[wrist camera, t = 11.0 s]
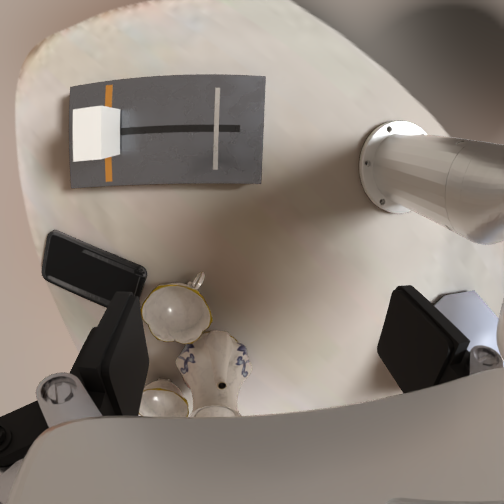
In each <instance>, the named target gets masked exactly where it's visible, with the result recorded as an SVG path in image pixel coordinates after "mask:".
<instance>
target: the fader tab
mask: <svg viewBox="0 0 504 504" xmlns="http://www.w3.org/2000/svg"><path fill="white" fill-rule="evenodd" d="M119 154H120V109H116V108H111V107H106V106H94V107H87V108H80V109H73V162H76V161H87V160H98V159H104V158H108V157H112V156H116V155H119Z"/></svg>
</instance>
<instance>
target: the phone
mask: <svg viewBox="0 0 504 504" xmlns="http://www.w3.org/2000/svg"><path fill="white" fill-rule="evenodd" d="M42 276H43V278H44V279H45V280H46V281H48V282H50V283H53V284H55V285H57V286H59V287H61V288H63V289H65V290H68V291H70V292H72V293H74V294H76V295H79V296H81V297H83V298H85V299H88V300H90V301H92V302H95V303H97V304H99V305H102V306H104V307H107V308H108V306H109V304H110V302H111V300H112V298H113V296H114V295H115V293H116V292H132V293H133V295H134V296H138V298H139V297H140V294H141V291H142V288H143V285H144V282H145V280H146V277H147V271H146V269H145V268H144V267H143V266H141V265H138V264H136V263H133V262H131V261H128V260H126V259H124V258H121V257H119V256H117V255H115V254H111V253H109V252H107V251H104V250H102V249H99V248H97V247H95V246H92V245H90V244H88V243H85V242H83V241H81V240H78V239H76V238H74V237H72V236H69V235H67V234H65V233H62V232H60V231H58V230H53V231H52V232H50V233H49V234H48V236H47V241H46V247H45V253H44V259H43V266H42Z"/></svg>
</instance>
